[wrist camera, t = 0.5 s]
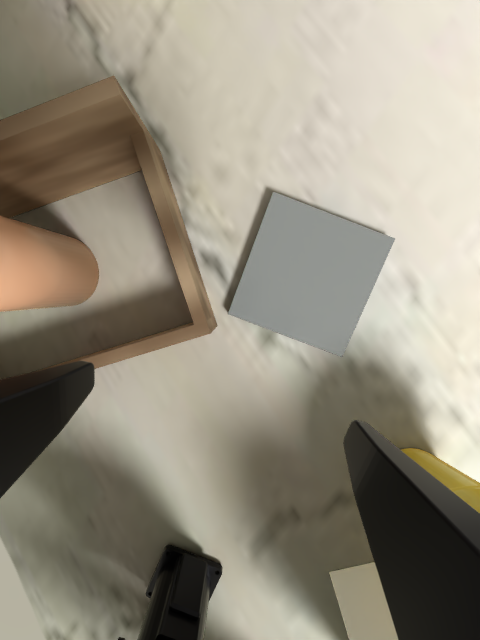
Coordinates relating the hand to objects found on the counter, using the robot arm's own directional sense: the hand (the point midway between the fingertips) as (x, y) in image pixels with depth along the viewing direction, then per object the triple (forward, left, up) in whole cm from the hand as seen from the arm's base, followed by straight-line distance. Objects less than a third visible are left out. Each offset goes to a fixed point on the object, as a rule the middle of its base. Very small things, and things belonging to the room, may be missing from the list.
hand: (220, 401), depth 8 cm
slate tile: (+7, -4, -14) cm, 16 cm away
